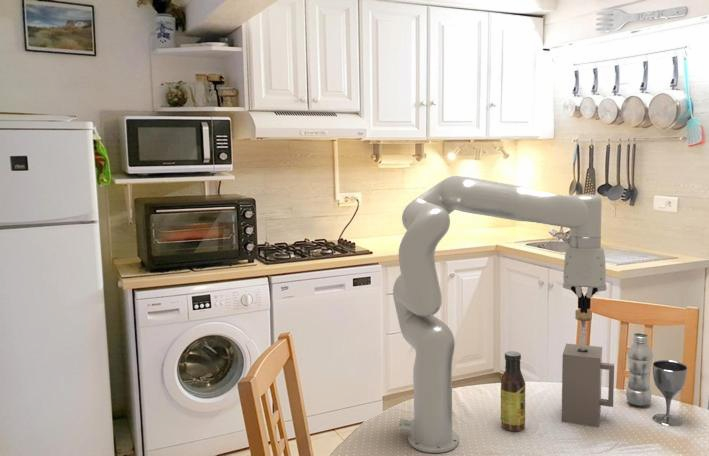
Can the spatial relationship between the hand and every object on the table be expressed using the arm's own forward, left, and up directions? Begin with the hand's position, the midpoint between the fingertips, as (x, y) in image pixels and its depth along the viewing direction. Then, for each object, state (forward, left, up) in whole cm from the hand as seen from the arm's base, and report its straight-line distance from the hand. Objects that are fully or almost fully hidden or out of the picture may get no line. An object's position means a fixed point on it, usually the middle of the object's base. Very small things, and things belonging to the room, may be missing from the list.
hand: (584, 311), depth 163 cm
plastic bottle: (+14, +14, -30) cm, 36 cm away
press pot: (+1, 0, -29) cm, 29 cm away
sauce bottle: (-16, -12, -30) cm, 36 cm away
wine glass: (+21, +6, -30) cm, 37 cm away
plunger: (0, 0, -19) cm, 19 cm away
